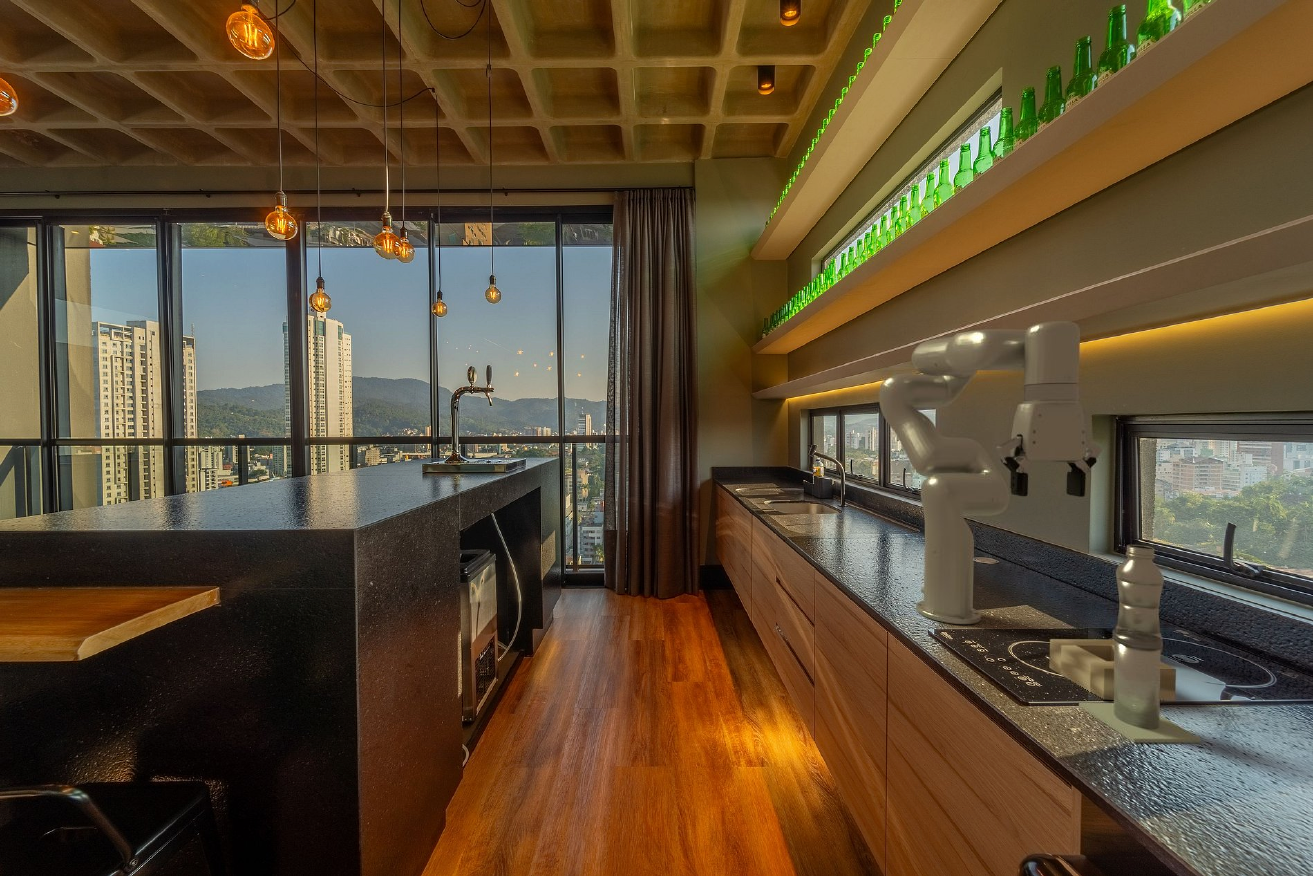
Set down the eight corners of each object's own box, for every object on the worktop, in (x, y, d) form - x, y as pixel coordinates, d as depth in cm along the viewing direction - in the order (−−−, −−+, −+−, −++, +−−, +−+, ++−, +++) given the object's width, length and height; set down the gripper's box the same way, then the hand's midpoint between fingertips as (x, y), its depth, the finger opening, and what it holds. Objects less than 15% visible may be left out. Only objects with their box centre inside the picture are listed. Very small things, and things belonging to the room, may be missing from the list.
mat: (1078, 706, 78) (1079, 702, 78) (1138, 706, 78) (1138, 703, 78) (1133, 742, 69) (1133, 738, 69) (1201, 742, 69) (1201, 739, 69)
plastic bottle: (1172, 664, 93) (1175, 552, 92) (1128, 660, 94) (1131, 550, 94) (1146, 648, 99) (1149, 544, 98) (1105, 645, 100) (1108, 542, 100)
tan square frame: (1049, 667, 91) (1050, 639, 91) (1112, 668, 91) (1113, 639, 91) (1103, 701, 80) (1104, 668, 80) (1175, 701, 80) (1176, 669, 80)
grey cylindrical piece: (1102, 709, 77) (1102, 628, 76) (1137, 709, 77) (1138, 628, 76) (1134, 730, 71) (1135, 643, 71) (1172, 730, 71) (1173, 643, 71)
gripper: (1082, 397, 93) (1079, 492, 93) (985, 396, 93) (983, 492, 93) (1120, 395, 85) (1116, 499, 86) (1014, 394, 85) (1011, 498, 86)
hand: (1047, 495), depth 90 cm, fingers open, 9 cm apart
